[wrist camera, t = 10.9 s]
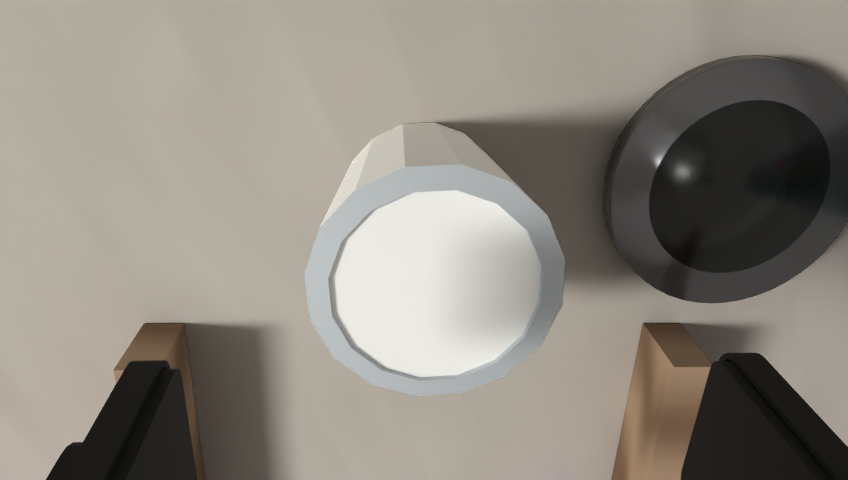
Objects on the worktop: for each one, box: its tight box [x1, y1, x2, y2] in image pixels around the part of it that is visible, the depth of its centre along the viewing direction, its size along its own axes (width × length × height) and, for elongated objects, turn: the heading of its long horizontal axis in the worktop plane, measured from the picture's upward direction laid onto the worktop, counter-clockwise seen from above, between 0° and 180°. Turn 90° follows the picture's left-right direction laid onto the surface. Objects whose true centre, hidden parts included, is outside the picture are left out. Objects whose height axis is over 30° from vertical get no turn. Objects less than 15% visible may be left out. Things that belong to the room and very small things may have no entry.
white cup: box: [304, 122, 565, 396], centre depth 20 cm, size 7×7×7 cm
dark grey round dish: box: [603, 55, 848, 303], centre depth 23 cm, size 9×9×1 cm
